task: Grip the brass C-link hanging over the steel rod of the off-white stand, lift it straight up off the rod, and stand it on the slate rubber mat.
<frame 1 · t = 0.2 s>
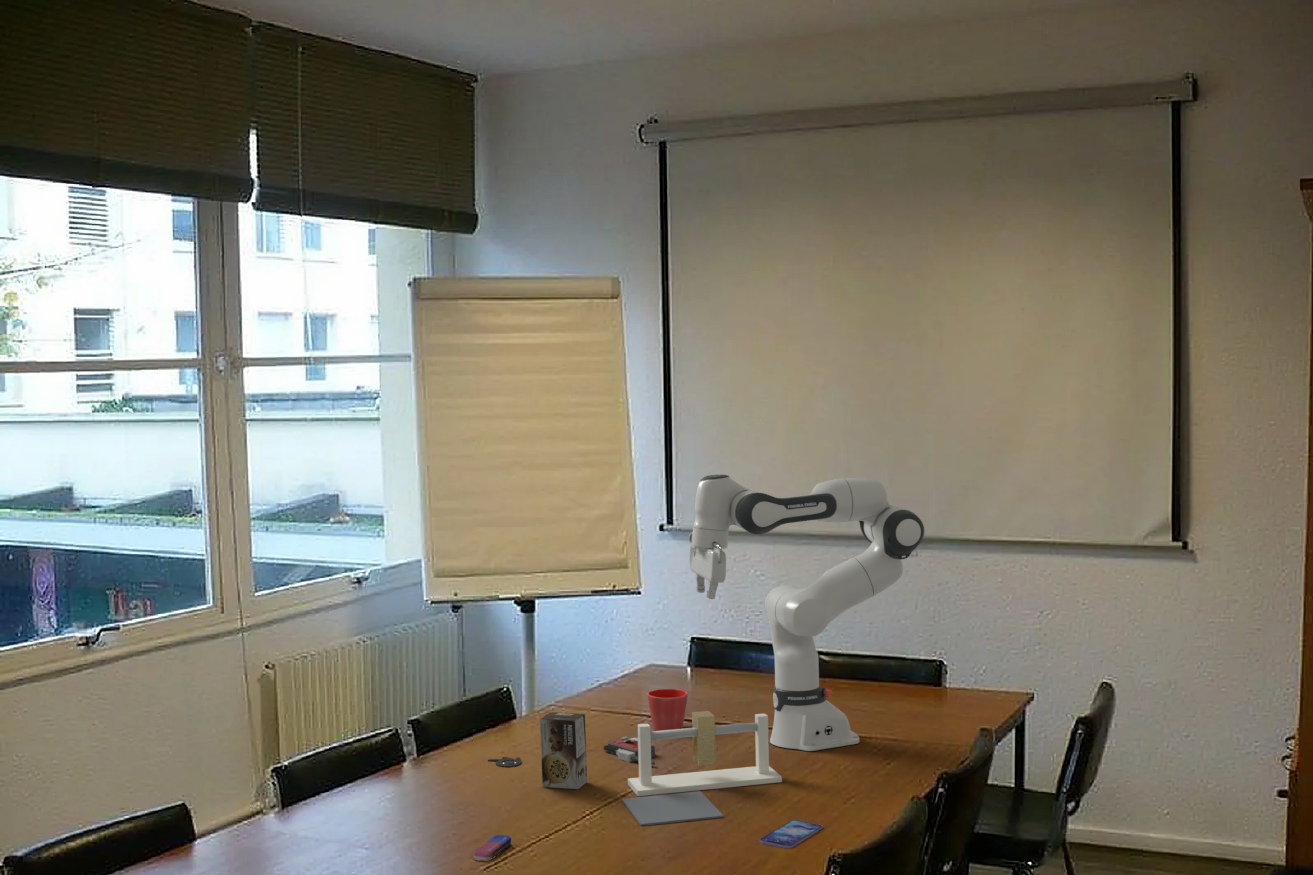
hand: (705, 595, 352), 39 cm above the table, tool pointing down, fingers open, 8 cm apart
flower pot: (668, 730, 376), on the table
rubber mat: (671, 808, 309), on the table
smartphone: (791, 837, 291), on the table
walkie-talkie: (636, 759, 351), on the table
rod stand: (704, 782, 328), on the table
coffee box: (564, 785, 329), on the table
eraser: (492, 854, 285), on the table
dark grey flat piece: (498, 763, 350), on the table
c-link: (704, 761, 327), point 5 cm above the table, touching rod stand
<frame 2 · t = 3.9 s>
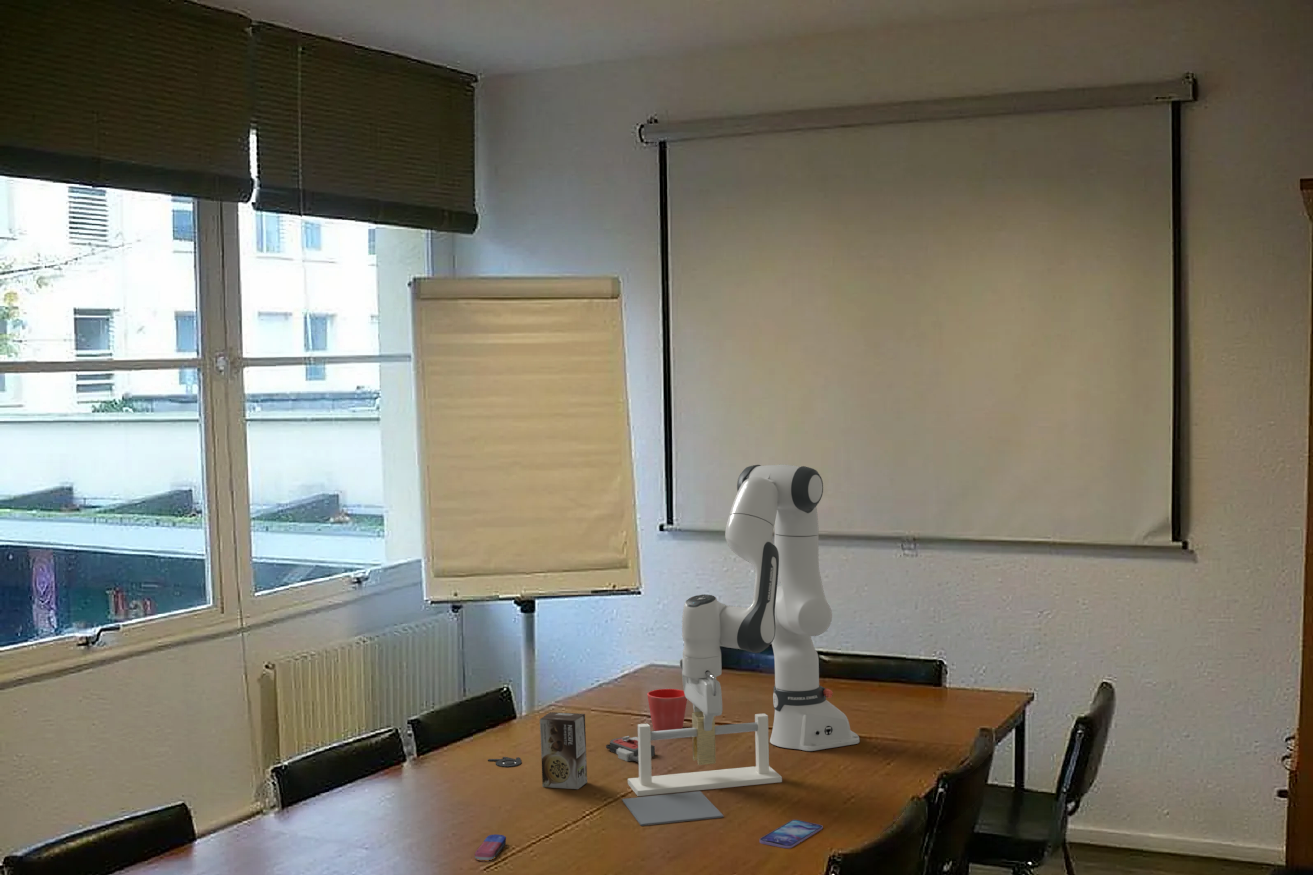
hand: (703, 726, 327), 13 cm above the table, tool pointing down, fingers closed on c-link, 5 cm apart
c-link: (704, 761, 327), point 5 cm above the table, touching gripper, rod stand
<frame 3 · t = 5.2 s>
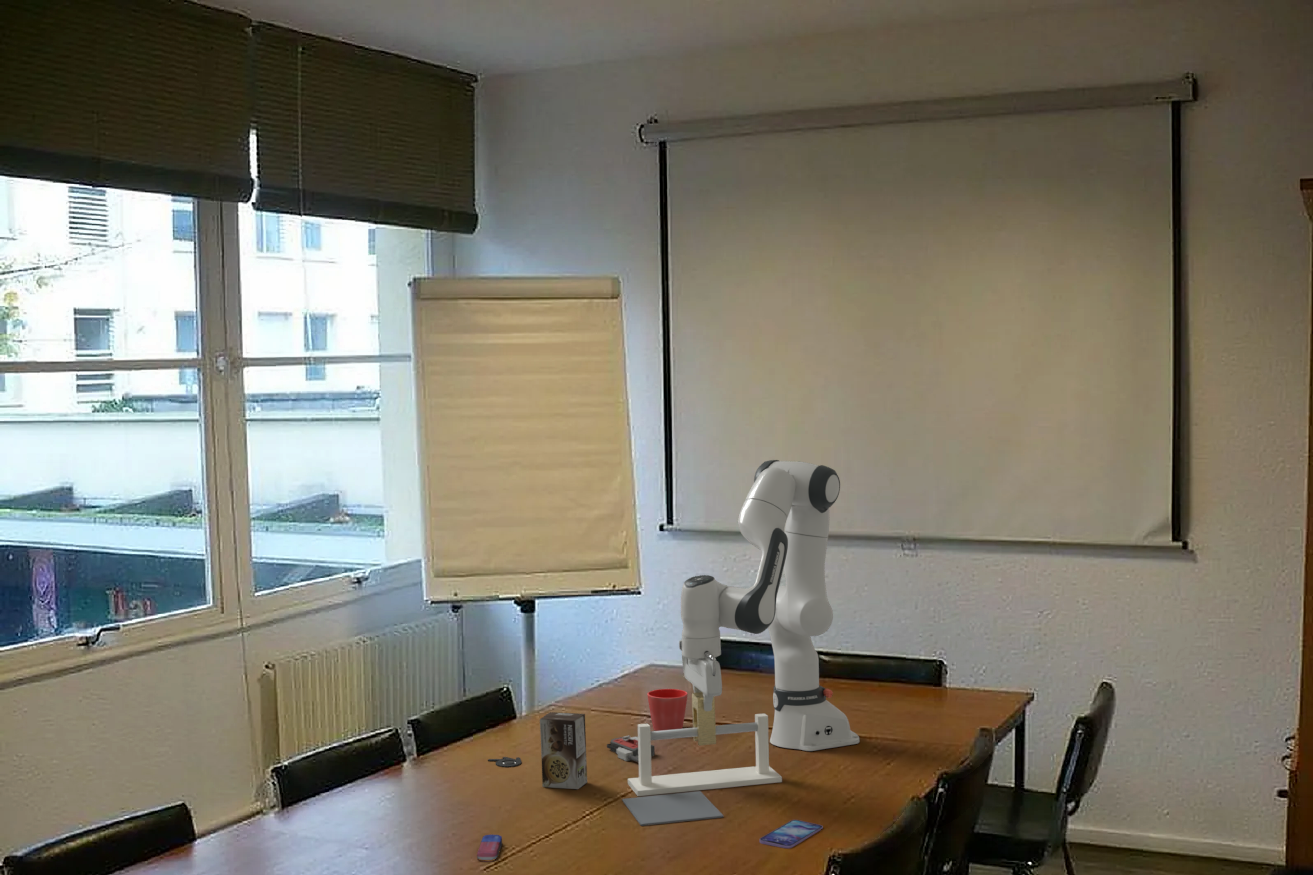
hand: (703, 707, 327), 18 cm above the table, tool pointing down, fingers closed on c-link, 5 cm apart
c-link: (704, 742, 327), point 9 cm above the table, touching gripper
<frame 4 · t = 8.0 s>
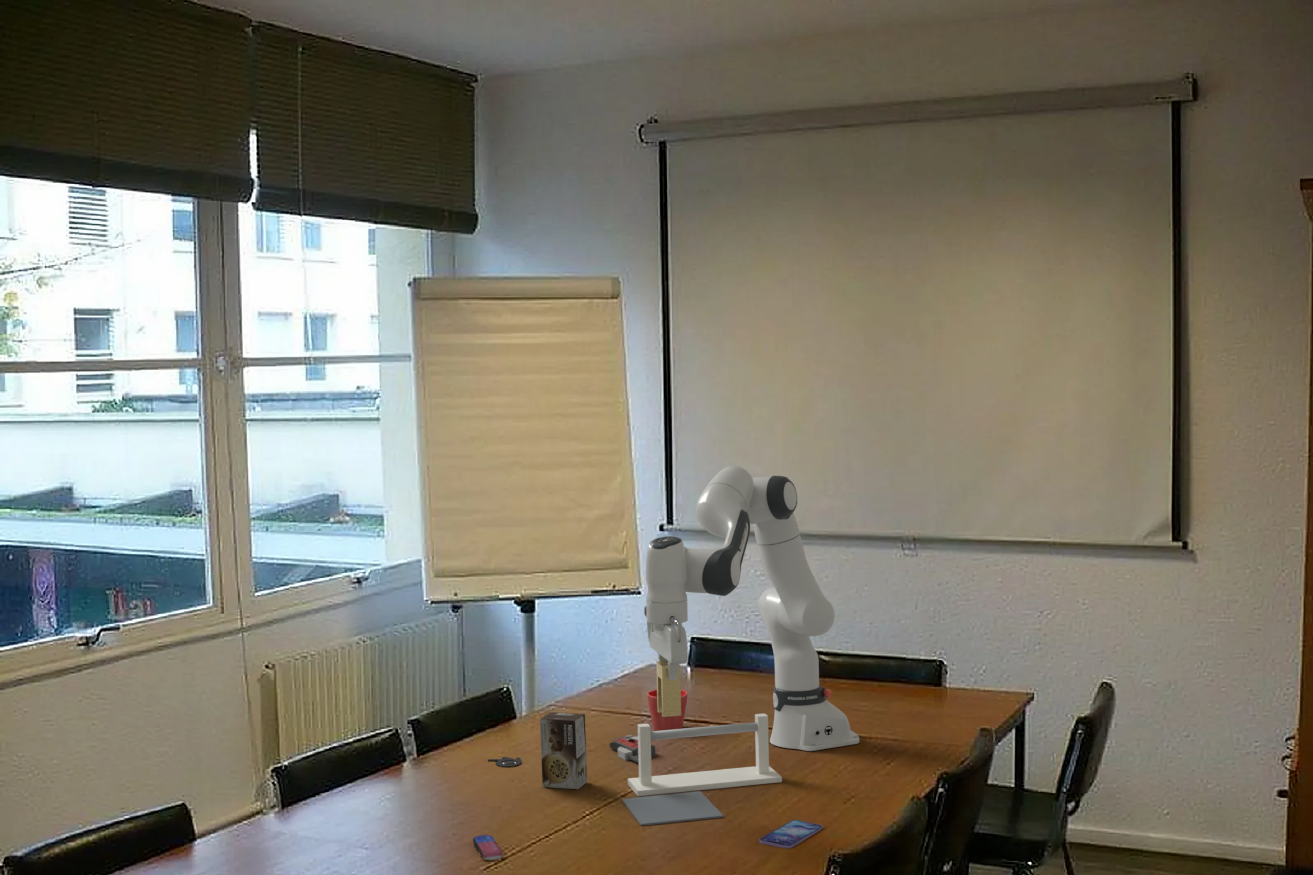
hand: (668, 676, 308), 29 cm above the table, tool pointing down, fingers closed on c-link, 5 cm apart
c-link: (669, 713, 308), point 21 cm above the table, touching gripper
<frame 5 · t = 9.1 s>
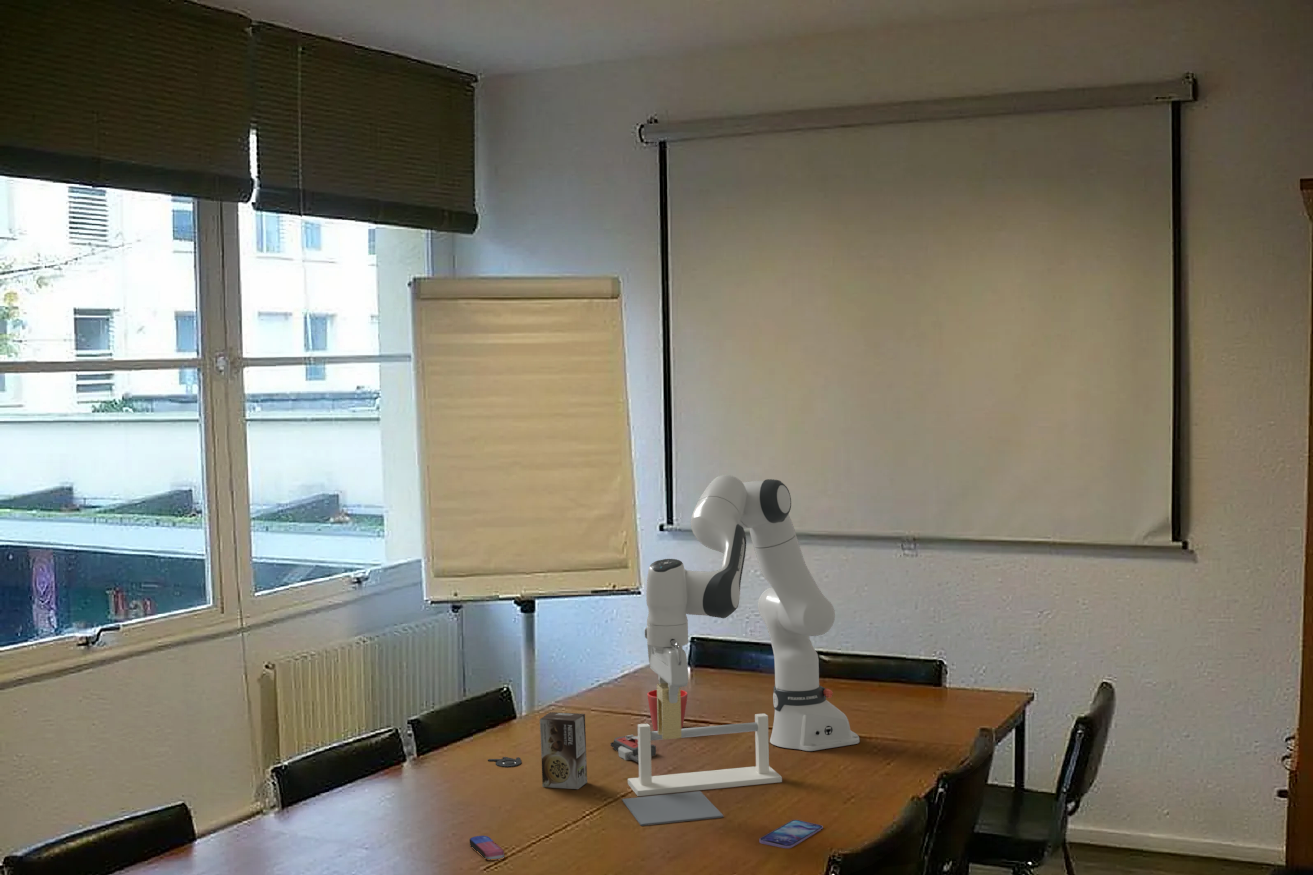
hand: (668, 699, 308), 24 cm above the table, tool pointing down, fingers closed on c-link, 5 cm apart
c-link: (669, 735, 308), point 16 cm above the table, touching gripper
when the fingers open (10 cm above the table, at t = 12.3 s): c-link drops 2 cm, resting on rubber mat.
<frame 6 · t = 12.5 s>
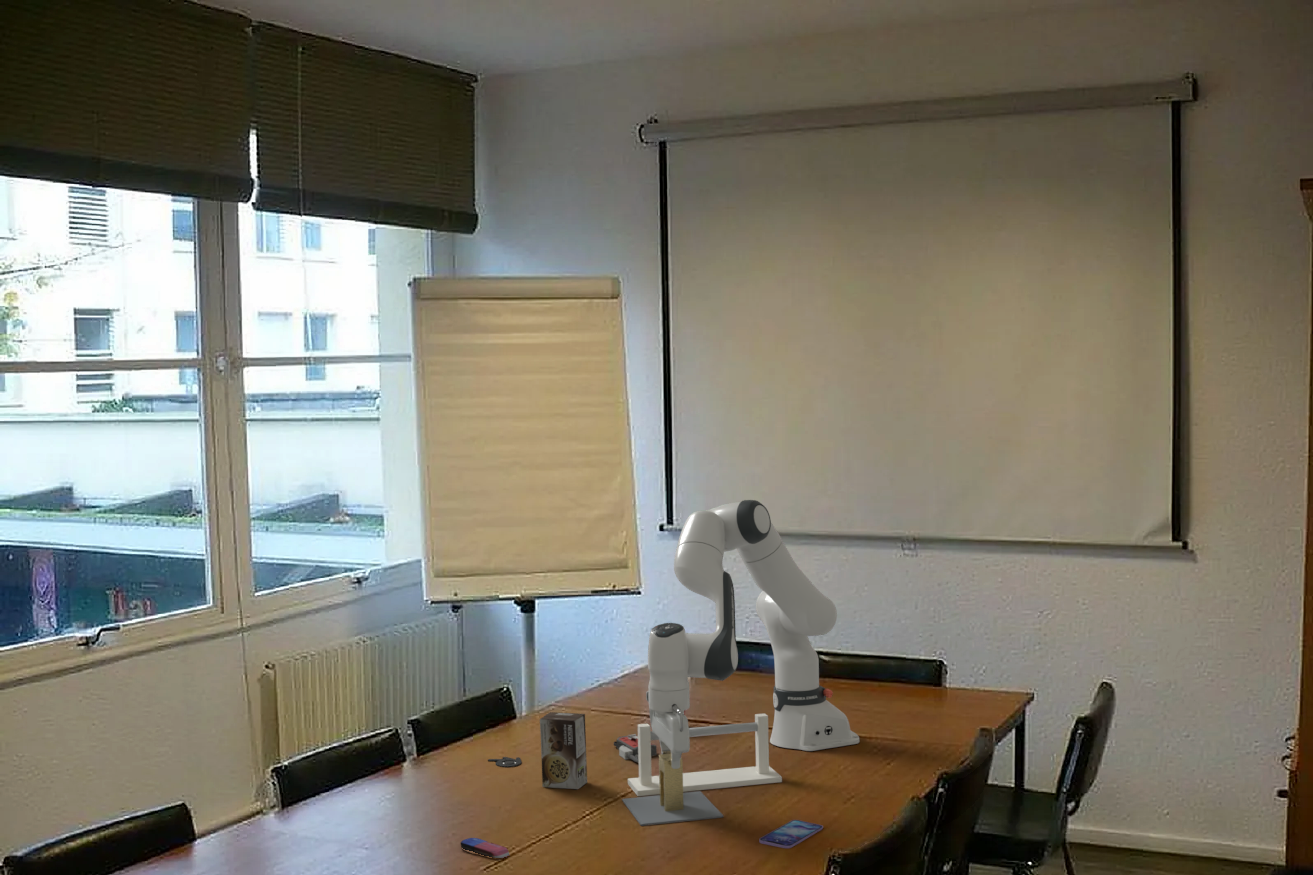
hand: (670, 763, 309), 10 cm above the table, tool pointing down, fingers open, 6 cm apart
c-link: (671, 806, 309), resting on rubber mat
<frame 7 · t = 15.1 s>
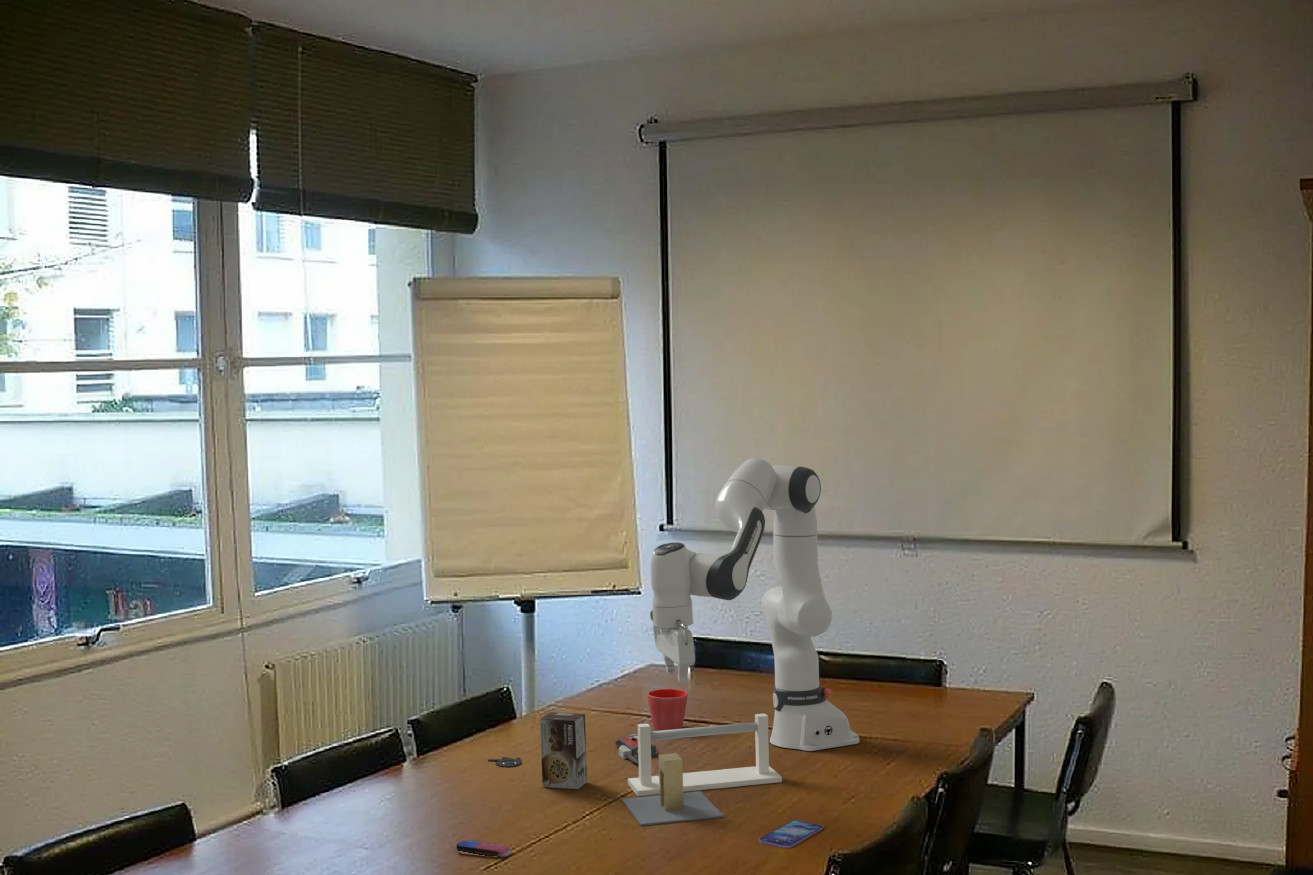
hand: (676, 678, 318), 26 cm above the table, tool pointing down, fingers open, 8 cm apart
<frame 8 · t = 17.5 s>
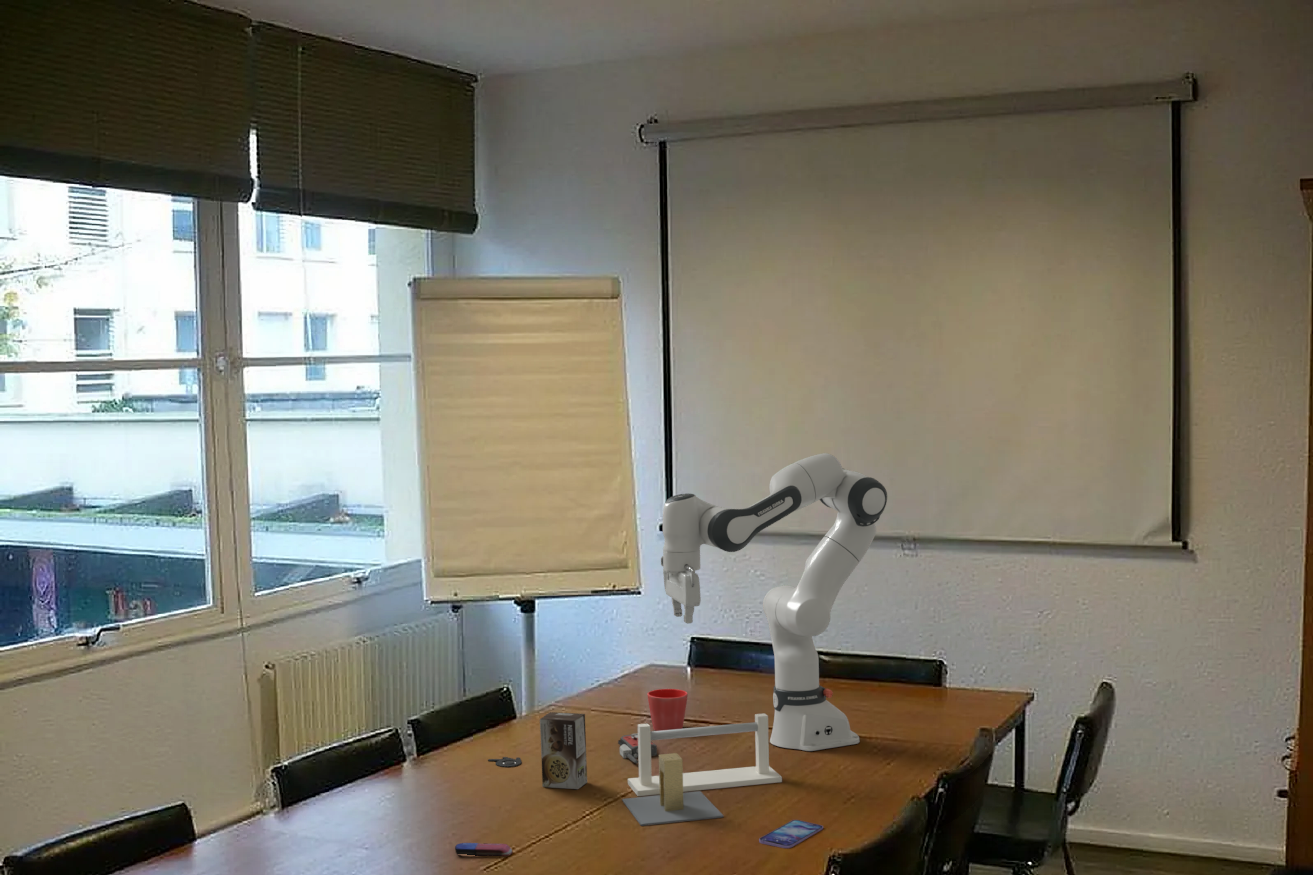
hand: (683, 619, 341), 35 cm above the table, tool pointing down, fingers open, 8 cm apart
at the end: c-link 0.1 cm from the rubber mat (horizontally); c-link resting on rubber mat; the gripper is holding nothing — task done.
